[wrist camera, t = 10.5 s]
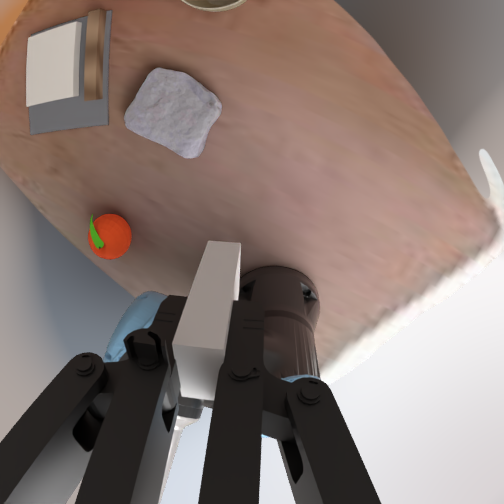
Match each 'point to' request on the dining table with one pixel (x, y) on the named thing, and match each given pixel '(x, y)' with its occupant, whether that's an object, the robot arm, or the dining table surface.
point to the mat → (75, 108)
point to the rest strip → (94, 55)
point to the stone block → (173, 112)
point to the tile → (53, 64)
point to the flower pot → (214, 4)
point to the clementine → (109, 236)
